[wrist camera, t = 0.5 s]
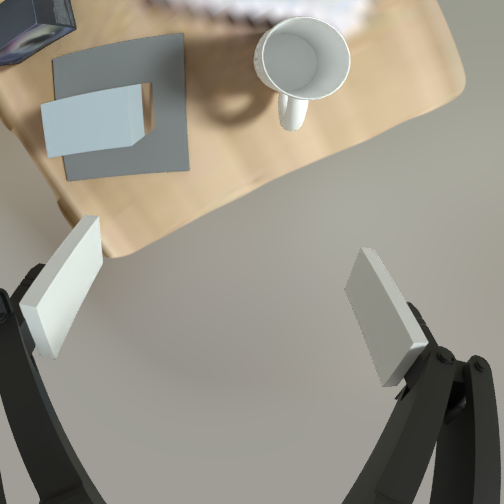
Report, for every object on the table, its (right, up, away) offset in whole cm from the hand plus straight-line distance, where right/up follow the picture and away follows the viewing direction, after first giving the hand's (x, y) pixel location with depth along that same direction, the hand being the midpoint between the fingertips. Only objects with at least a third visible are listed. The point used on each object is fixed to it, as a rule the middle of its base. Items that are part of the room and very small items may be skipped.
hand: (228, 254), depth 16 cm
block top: (-16, +15, +15) cm, 27 cm away
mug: (+5, +21, +19) cm, 29 cm away
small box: (-27, +30, +12) cm, 42 cm away
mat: (-16, +18, +20) cm, 31 cm away
